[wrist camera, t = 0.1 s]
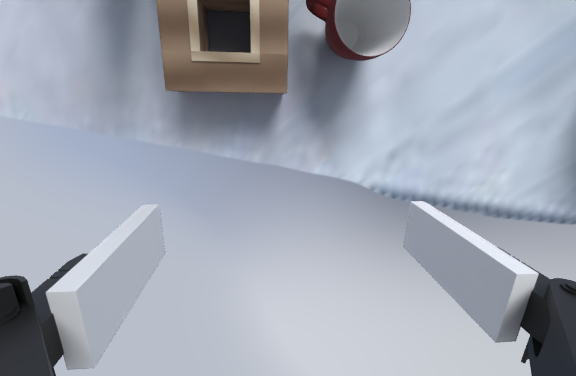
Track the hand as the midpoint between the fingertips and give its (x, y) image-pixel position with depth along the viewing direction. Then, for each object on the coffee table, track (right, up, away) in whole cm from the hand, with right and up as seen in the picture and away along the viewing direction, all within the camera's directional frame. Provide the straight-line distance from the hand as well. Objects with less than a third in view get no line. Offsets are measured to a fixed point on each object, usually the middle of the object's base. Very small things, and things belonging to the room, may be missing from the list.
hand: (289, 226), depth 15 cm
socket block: (-8, +22, +22) cm, 32 cm away
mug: (+6, +23, +23) cm, 33 cm away
